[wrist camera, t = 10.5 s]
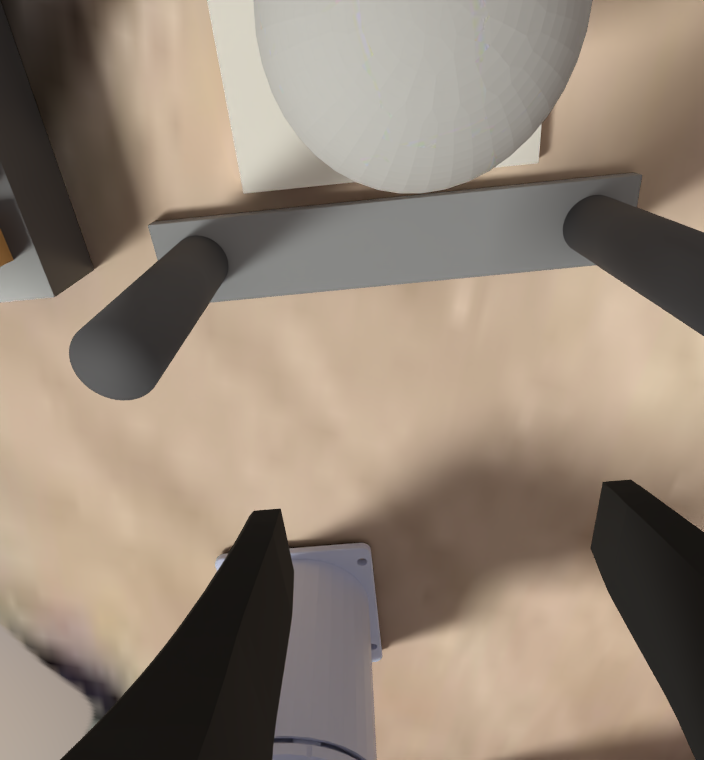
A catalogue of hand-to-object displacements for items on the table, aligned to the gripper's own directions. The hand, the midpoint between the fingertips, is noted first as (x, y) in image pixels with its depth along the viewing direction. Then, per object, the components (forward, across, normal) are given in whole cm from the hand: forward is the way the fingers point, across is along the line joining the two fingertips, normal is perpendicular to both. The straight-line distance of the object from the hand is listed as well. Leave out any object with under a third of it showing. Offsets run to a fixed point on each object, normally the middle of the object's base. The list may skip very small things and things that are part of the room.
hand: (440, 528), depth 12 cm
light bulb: (+10, 0, -10) cm, 14 cm away
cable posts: (+10, 0, -4) cm, 11 cm away
